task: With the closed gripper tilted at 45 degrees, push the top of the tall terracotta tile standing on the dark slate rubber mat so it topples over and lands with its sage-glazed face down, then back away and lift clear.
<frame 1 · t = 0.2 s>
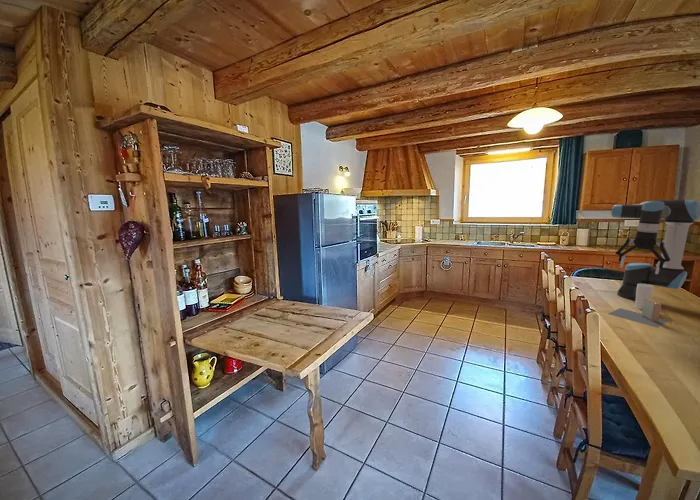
hand: (638, 270, 149), 28 cm above the table, tool pointing down, fingers open, 13 cm apart
tile: (649, 318, 153), point 1 cm above the table, touching mat
white rectangular block: (640, 309, 167), on the table
mat: (637, 318, 155), on the table
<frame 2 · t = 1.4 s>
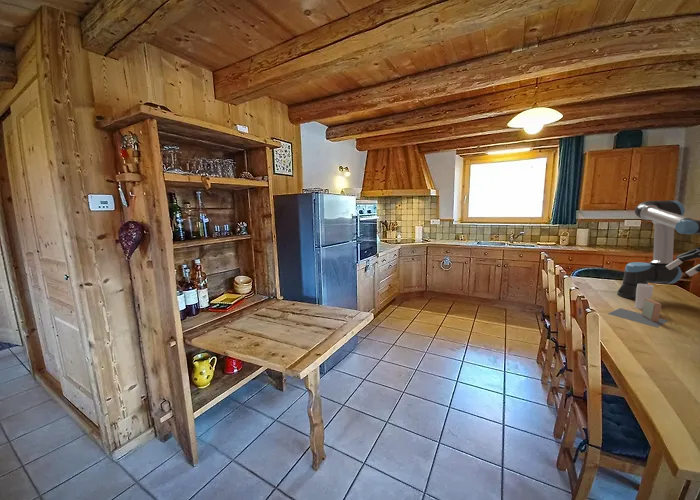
hand: (677, 271, 147), 28 cm above the table, tool tilted 45°, fingers open, 13 cm apart
nothing on the table moved.
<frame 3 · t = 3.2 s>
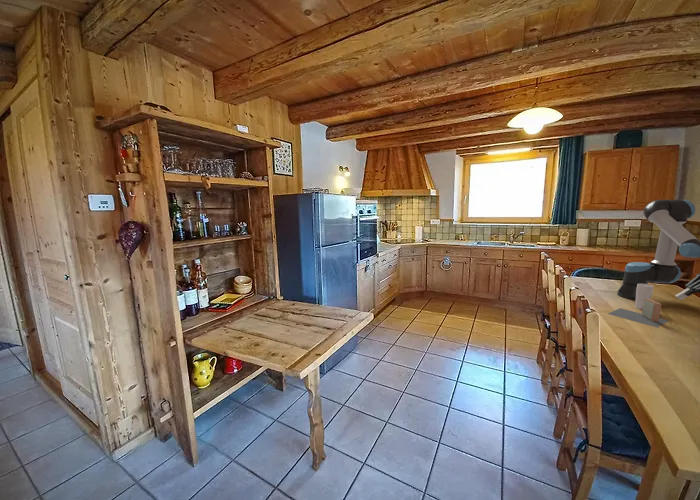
hand: (677, 297, 147), 14 cm above the table, tool tilted 45°, fingers closed
nothing on the table moved.
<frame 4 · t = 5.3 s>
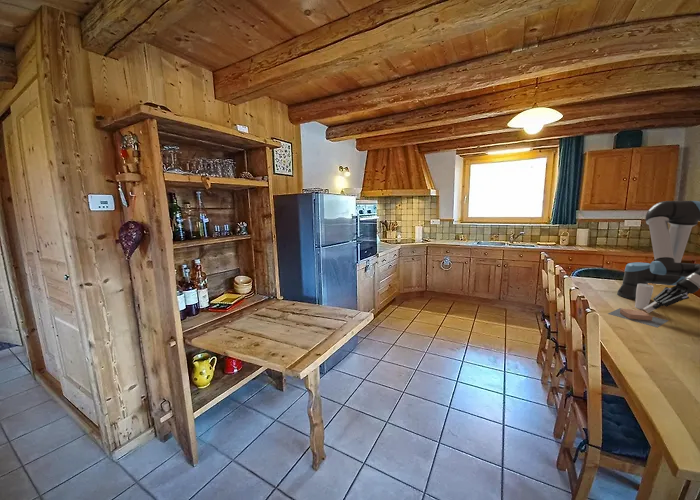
hand: (645, 310, 152), 5 cm above the table, tool tilted 45°, fingers closed
tile: (646, 315, 153), point 2 cm above the table, tilted 90°, touching mat
everything else where it was.
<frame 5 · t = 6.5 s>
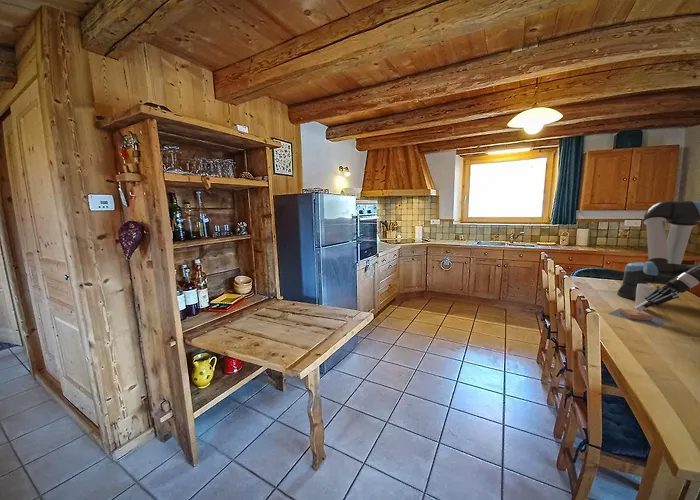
hand: (637, 309, 154), 5 cm above the table, tool tilted 45°, fingers closed
nothing on the table moved.
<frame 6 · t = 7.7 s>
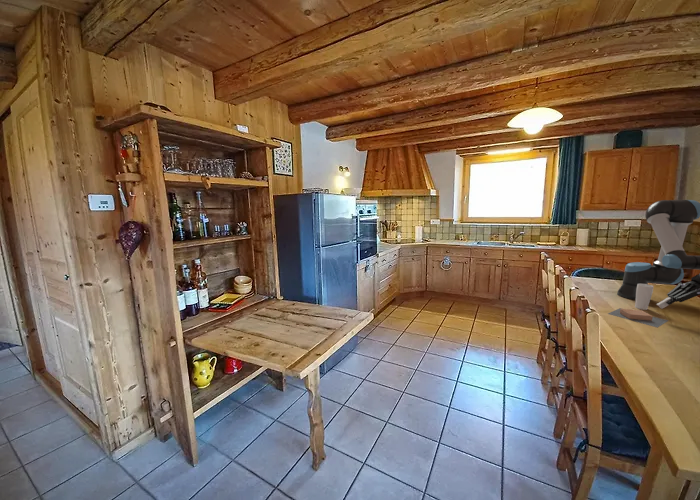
hand: (659, 306, 151), 8 cm above the table, tool tilted 45°, fingers closed
nothing on the table moved.
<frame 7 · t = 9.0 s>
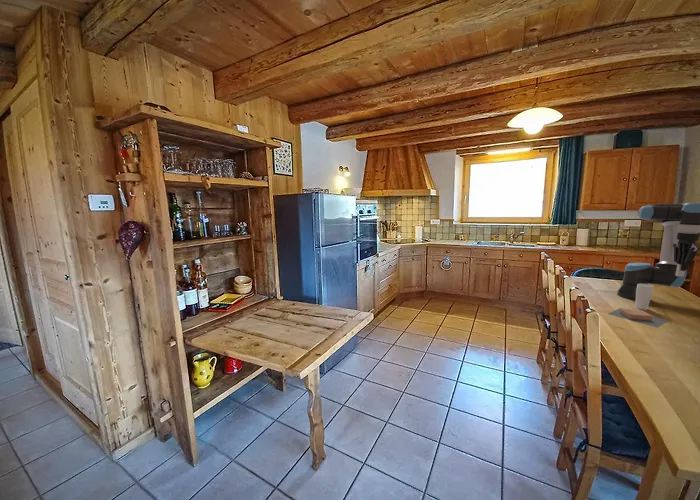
hand: (679, 276, 150), 24 cm above the table, tool pointing down, fingers closed
nothing on the table moved.
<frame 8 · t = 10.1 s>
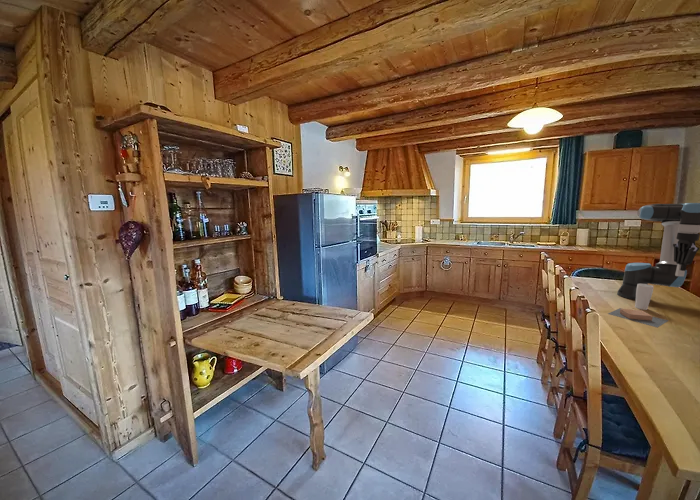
hand: (679, 275, 150), 24 cm above the table, tool pointing down, fingers closed
nothing on the table moved.
at the end: tile tilted 90°; tile inside the target area (3.9 cm from its centre), point 2.1 cm above the table; white rectangular block moved 0.2 cm from its start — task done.
